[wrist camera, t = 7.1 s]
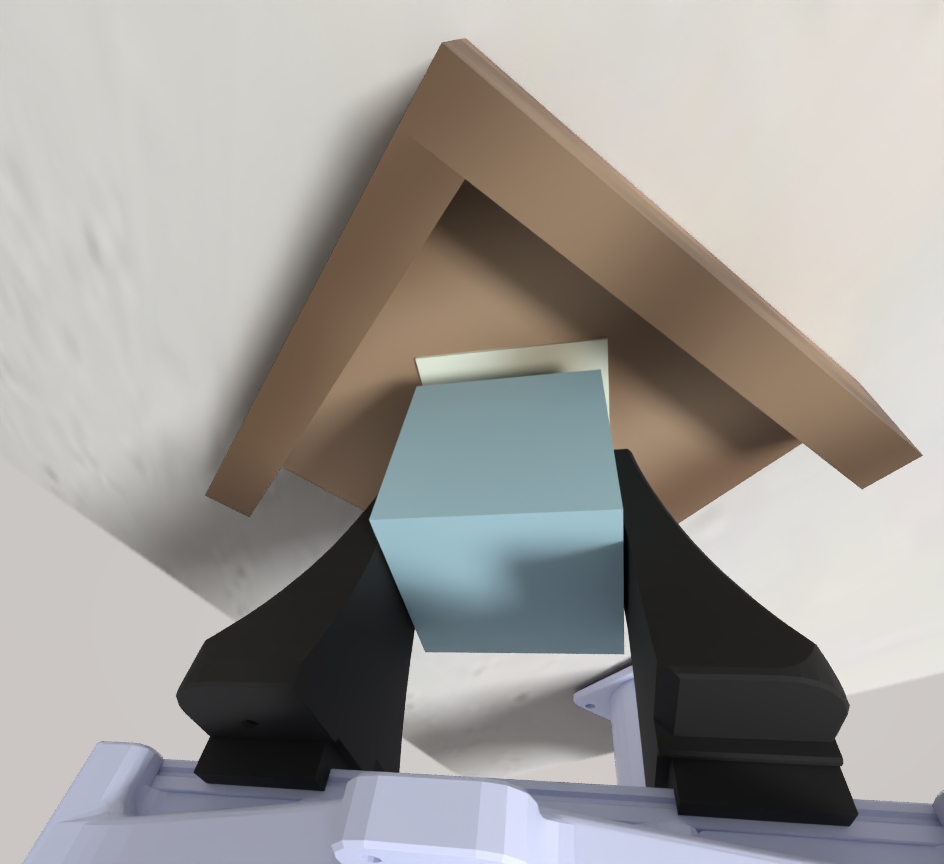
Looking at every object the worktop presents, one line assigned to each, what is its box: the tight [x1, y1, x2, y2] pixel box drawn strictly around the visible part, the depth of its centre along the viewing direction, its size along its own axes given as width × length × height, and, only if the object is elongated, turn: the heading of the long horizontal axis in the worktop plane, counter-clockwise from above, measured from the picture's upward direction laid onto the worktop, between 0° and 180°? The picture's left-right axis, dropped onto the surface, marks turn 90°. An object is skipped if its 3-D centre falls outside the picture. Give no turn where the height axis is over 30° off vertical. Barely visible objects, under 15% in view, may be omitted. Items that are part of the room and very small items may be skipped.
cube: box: [369, 369, 624, 654], centre depth 14 cm, size 5×5×5 cm
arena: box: [205, 38, 923, 523], centre depth 16 cm, size 14×14×3 cm
